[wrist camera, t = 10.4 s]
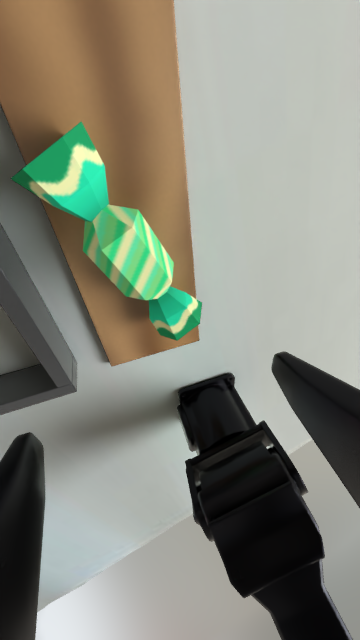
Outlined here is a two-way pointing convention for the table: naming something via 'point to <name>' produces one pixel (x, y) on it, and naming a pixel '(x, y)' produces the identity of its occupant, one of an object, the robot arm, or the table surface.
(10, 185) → the table surface
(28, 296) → the dark grey tray
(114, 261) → the candy
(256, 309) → the table surface
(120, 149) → the brown wooden board
